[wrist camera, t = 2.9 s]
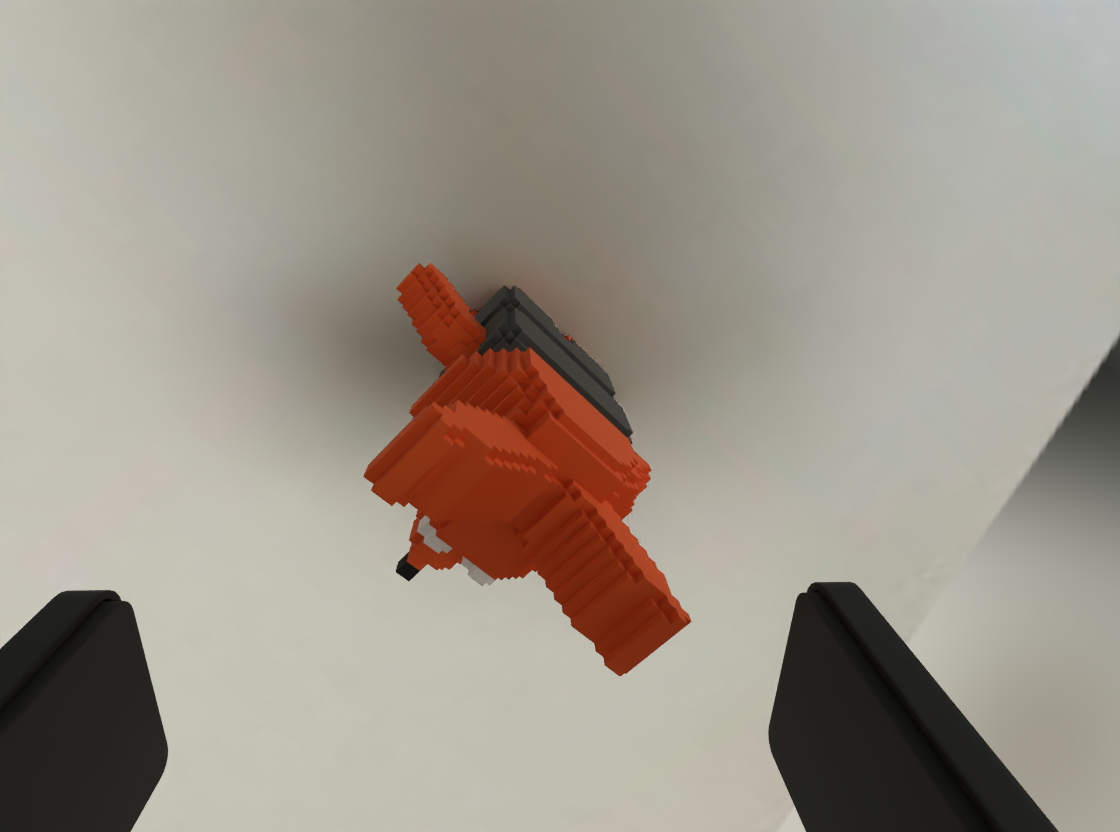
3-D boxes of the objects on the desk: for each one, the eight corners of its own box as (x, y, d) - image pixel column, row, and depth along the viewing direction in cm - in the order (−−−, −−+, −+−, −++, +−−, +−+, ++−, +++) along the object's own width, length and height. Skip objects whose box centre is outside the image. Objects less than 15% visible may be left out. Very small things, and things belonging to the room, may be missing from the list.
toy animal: (344, 343, 20) (142, 578, 9) (460, 214, 19) (390, 306, 8) (527, 494, 23) (543, 821, 12) (640, 389, 21) (777, 643, 10)
